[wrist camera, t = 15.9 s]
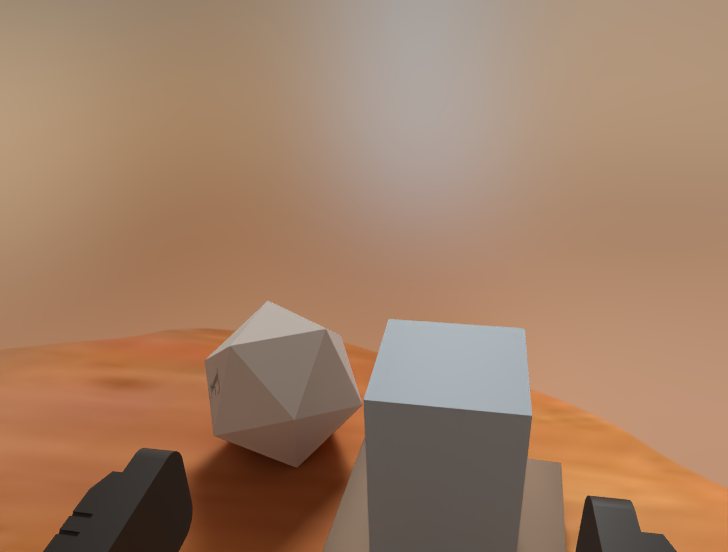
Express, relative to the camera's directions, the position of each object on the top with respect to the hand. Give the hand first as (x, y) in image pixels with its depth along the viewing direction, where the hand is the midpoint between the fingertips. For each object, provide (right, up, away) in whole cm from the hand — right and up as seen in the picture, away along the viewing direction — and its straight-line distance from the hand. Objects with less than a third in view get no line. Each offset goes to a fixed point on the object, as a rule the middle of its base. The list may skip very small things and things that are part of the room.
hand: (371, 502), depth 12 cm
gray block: (+3, -7, +14) cm, 16 cm away
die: (-5, -5, +25) cm, 26 cm away
